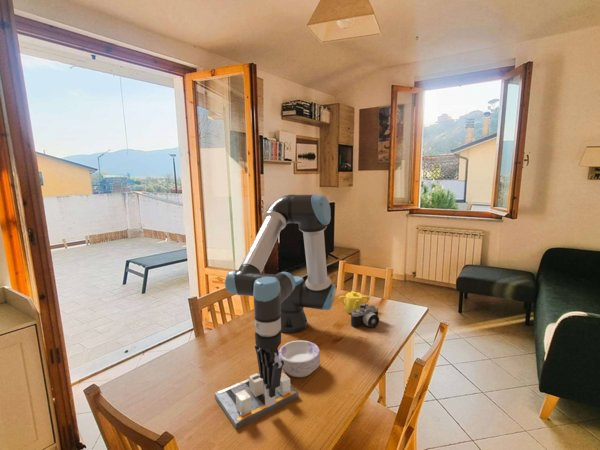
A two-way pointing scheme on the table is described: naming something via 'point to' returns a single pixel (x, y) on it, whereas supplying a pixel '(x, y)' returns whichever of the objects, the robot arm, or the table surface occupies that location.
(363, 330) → the table surface
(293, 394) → the panel
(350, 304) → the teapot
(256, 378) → the breaker
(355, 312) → the camera
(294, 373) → the paper bowls
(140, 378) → the table surface
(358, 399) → the table surface
